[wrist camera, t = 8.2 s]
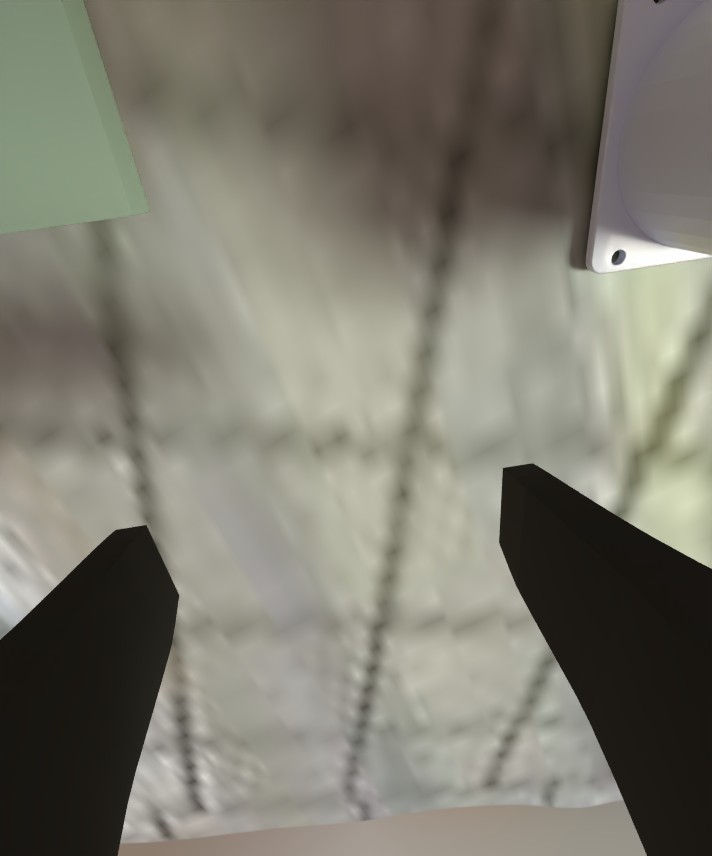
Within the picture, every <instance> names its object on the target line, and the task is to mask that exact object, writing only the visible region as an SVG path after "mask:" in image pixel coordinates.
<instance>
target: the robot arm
mask: <svg viewBox="0 0 712 856" xmlns="http://www.w3.org/2000/svg"><path fill="white" fill-rule="evenodd" d="M617 250H619V256H618V259H617V260H616V261H615V262H613V263H612V262H611V258H612V255H613V254H614V253H615V252H616V251H617ZM705 258H712V0H659V2H658V3H655V2H654V1H653V0H619V1H618V8H617V16H616V24H615V32H614V40H613V48H612V56H611V63H610V71H609V79H608V87H607V95H606V103H605V111H604V119H603V126H602V134H601V142H600V150H599V158H598V166H597V174H596V182H595V189H594V197H593V205H592V213H591V221H590V229H589V237H588V245H587V252H586V266H587V268H588V270H590V271H591V272H594V273H597V274H604V273H611V272H618V271H625V270H631V269H638V268H645V267H651V266H658V265H665V264H671V263H678V262H685V261H692V260H698V259H705ZM499 543H500V546H501V548H502V551H503V554H504V556H505V559H506V561H507V564H508V567H509V569H510V571H511V574H512V576H513V579H514V581H515V584H516V586H517V588H518V590H519V592H520V594H521V596H522V598H523V599H524V601H525V603H526V605H527V607H528V609H529V611H530V612H531V614H532V616H533V618H534V620H535V622H536V623H537V625H538V627H539V629H540V631H541V632H542V634H543V636H544V638H545V640H546V642H547V643H548V645H549V647H550V649H551V651H552V652H553V654H554V656H555V658H556V660H557V661H558V663H559V665H560V667H561V669H562V671H563V672H564V674H565V676H566V678H567V680H568V681H569V683H570V685H571V687H572V689H573V690H574V692H575V694H576V696H577V698H578V700H579V702H580V704H581V706H582V708H583V710H584V712H585V714H586V716H587V718H588V720H589V722H590V724H591V726H592V729H593V731H594V733H595V735H596V738H597V740H598V742H599V744H600V747H601V749H602V751H603V753H604V756H605V758H606V760H607V762H608V765H609V767H610V769H611V772H612V774H613V776H614V778H615V781H616V783H617V785H618V788H619V790H620V792H621V795H622V797H623V799H624V802H625V804H626V807H627V809H628V811H629V813H630V816H631V818H632V821H633V823H634V825H635V828H636V830H637V833H638V835H639V837H640V840H641V842H642V844H643V847H644V849H645V852H646V854H647V856H712V569H711V568H709V567H707V566H705V565H703V564H701V563H699V562H697V561H695V560H694V559H692V558H690V557H688V556H686V555H684V554H683V553H681V552H679V551H677V550H675V549H673V548H672V547H670V546H668V545H666V544H664V543H662V542H661V541H659V540H657V539H655V538H654V537H652V536H650V535H648V534H647V533H645V532H643V531H641V530H640V529H638V528H636V527H635V526H633V525H631V524H629V523H628V522H626V521H624V520H623V519H621V518H620V517H618V516H616V515H615V514H613V513H611V512H610V511H608V510H606V509H605V508H603V507H602V506H600V505H598V504H597V503H595V502H594V501H592V500H590V499H589V498H587V497H586V496H584V495H583V494H581V493H579V492H578V491H576V490H575V489H573V488H571V487H570V486H568V485H567V484H565V483H564V482H562V481H561V480H559V479H557V478H556V477H554V476H553V475H551V474H549V473H548V472H546V471H545V470H543V469H541V468H540V467H538V466H536V465H535V464H533V463H532V464H526V465H519V466H513V467H507V468H503V479H502V498H501V518H500V537H499ZM178 600H179V594H178V592H177V590H176V588H175V585H174V583H173V581H172V579H171V577H170V575H169V573H168V570H167V568H166V566H165V564H164V562H163V560H162V558H161V555H160V553H159V551H158V549H157V547H156V545H155V543H154V541H153V538H152V536H151V534H150V532H149V530H148V528H147V526H146V525H144V526H138V527H132V528H126V529H119V530H115V531H114V532H113V533H112V534H111V535H109V536H108V537H107V538H106V539H105V540H104V541H103V542H102V543H101V544H100V545H98V546H97V547H96V548H95V549H94V550H93V551H92V552H91V553H90V554H89V555H88V556H87V557H86V558H85V559H84V560H83V561H82V562H81V563H80V564H79V565H78V566H77V567H76V568H75V569H74V570H73V571H72V572H71V573H70V574H69V575H68V576H67V577H66V578H65V579H64V580H63V581H62V582H61V583H59V584H58V585H57V586H56V587H55V588H54V589H53V590H52V591H51V592H50V593H49V594H48V595H47V596H46V597H45V598H44V599H43V600H42V601H41V602H40V603H39V604H38V605H37V606H36V607H35V608H34V609H33V610H32V611H31V612H30V613H29V614H28V615H27V616H25V617H24V618H23V619H22V620H21V621H20V622H19V623H18V624H17V625H16V626H15V627H14V628H13V629H12V630H11V631H9V632H8V633H7V634H6V635H5V636H4V637H3V638H2V639H1V640H0V856H117V855H118V850H119V845H120V840H121V835H122V830H123V825H124V819H125V814H126V809H127V804H128V800H129V796H130V792H131V788H132V784H133V780H134V776H135V772H136V768H137V765H138V762H139V758H140V755H141V751H142V748H143V744H144V741H145V737H146V734H147V730H148V727H149V723H150V720H151V717H152V713H153V710H154V706H155V703H156V699H157V696H158V692H159V689H160V685H161V682H162V678H163V675H164V671H165V667H166V664H167V660H168V657H169V653H170V649H171V645H172V640H173V634H174V628H175V622H176V614H177V607H178Z"/></svg>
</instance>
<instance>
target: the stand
mask: <svg viewBox="0 0 712 856" xmlns="http://www.w3.org/2000/svg"><path fill="white" fill-rule="evenodd" d="M148 211H150V210H149V206H148V203H147V200H146V197H145V194H144V191H143V187H142V184H141V181H140V178H139V175H138V172H137V168H136V165H135V162H134V159H133V156H132V153H131V150H130V146H129V143H128V140H127V137H126V134H125V131H124V127H123V124H122V121H121V118H120V115H119V112H118V108H117V105H116V102H115V99H114V96H113V93H112V90H111V86H110V83H109V80H108V77H107V74H106V71H105V67H104V64H103V61H102V58H101V55H100V52H99V48H98V45H97V42H96V39H95V36H94V33H93V30H92V26H91V23H90V20H89V17H88V14H87V11H86V7H85V4H84V1H83V0H0V234H7V233H14V232H21V231H28V230H35V229H42V228H49V227H56V226H63V225H70V224H77V223H84V222H91V221H98V220H106V219H113V218H120V217H127V216H133V215H137V214H141V213H144V212H148Z"/></svg>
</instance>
